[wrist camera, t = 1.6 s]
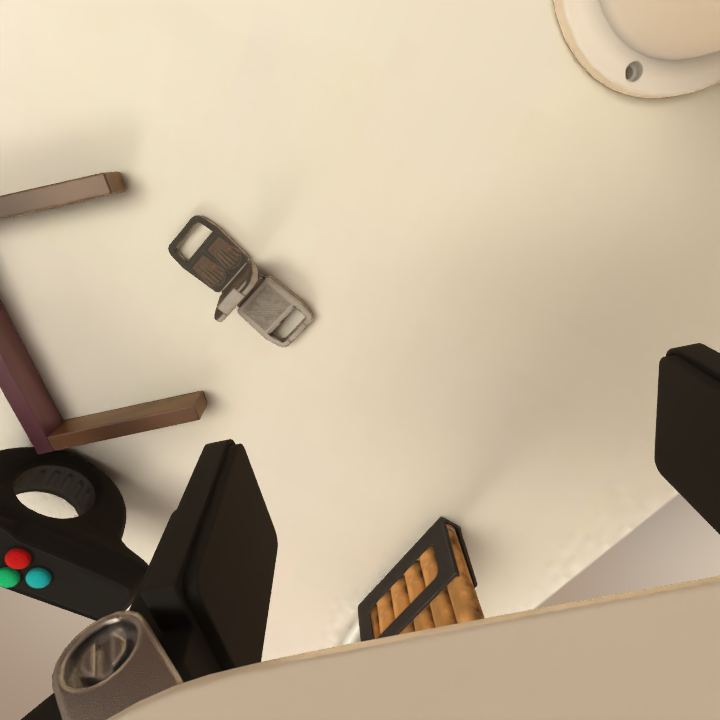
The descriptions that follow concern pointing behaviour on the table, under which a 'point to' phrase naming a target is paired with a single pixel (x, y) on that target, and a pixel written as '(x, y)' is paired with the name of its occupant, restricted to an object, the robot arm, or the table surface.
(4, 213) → the frame
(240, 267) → the strap clip
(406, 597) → the ammunition clip
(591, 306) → the table surface
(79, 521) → the controller
